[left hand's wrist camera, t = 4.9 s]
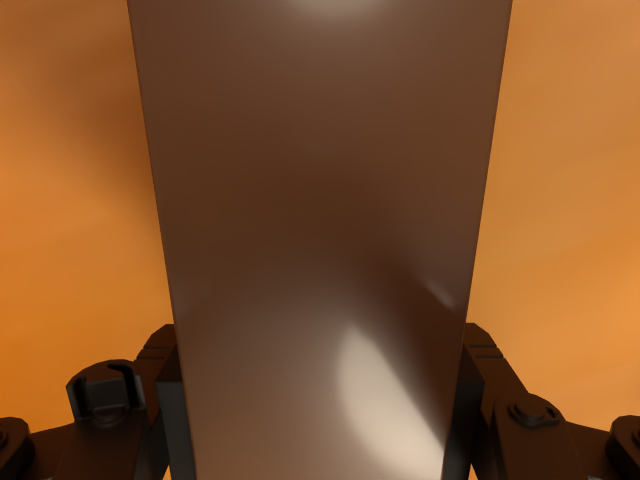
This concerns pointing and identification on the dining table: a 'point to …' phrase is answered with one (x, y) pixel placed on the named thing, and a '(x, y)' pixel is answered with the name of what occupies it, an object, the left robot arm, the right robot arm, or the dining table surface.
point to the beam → (319, 222)
